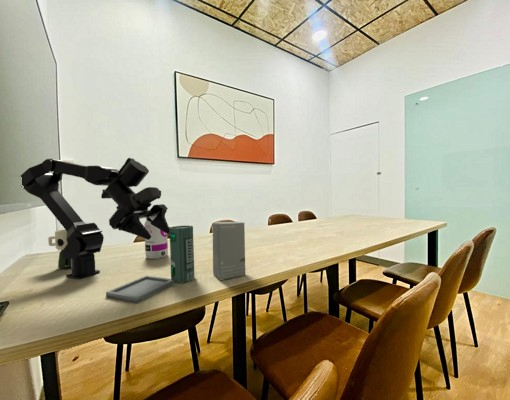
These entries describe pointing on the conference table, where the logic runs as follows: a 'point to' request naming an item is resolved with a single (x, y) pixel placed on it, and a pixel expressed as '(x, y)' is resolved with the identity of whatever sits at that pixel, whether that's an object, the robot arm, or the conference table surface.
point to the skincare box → (228, 249)
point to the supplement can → (155, 242)
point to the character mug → (60, 247)
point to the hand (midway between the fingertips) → (160, 235)
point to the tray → (140, 289)
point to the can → (182, 253)
